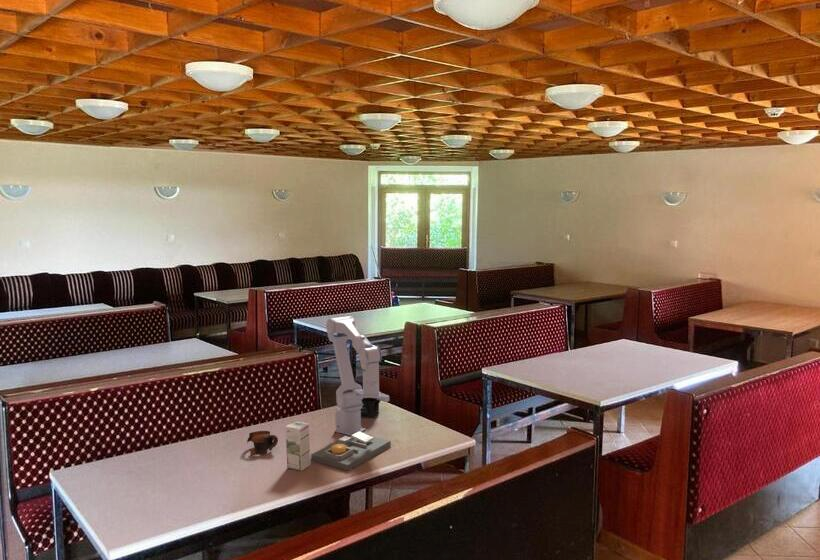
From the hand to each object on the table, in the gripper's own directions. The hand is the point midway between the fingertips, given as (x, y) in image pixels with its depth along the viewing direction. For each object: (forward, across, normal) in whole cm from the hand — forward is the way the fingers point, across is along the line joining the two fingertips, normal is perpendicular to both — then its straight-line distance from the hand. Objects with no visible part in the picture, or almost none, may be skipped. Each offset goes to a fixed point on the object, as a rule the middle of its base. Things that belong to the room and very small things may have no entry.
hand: (371, 417), depth 215 cm
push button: (+8, -2, -16) cm, 18 cm away
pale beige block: (+8, -5, -9) cm, 13 cm away
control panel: (+10, -2, -9) cm, 14 cm away
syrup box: (+10, -10, -27) cm, 31 cm away
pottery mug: (+11, -30, -24) cm, 40 cm away
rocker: (+7, -2, -3) cm, 8 cm away
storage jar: (+11, -22, +26) cm, 36 cm away
